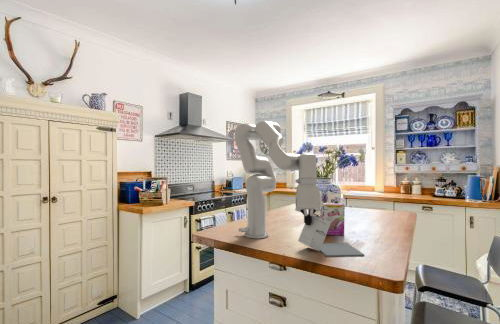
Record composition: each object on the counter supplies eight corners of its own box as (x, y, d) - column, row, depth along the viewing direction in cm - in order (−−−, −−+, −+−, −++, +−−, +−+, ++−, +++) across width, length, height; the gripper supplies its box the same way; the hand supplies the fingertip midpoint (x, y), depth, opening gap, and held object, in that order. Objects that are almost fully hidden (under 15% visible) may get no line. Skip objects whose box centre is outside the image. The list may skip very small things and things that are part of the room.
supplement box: (308, 246, 107) (319, 218, 109) (297, 241, 113) (308, 214, 116) (320, 252, 110) (330, 224, 112) (308, 246, 116) (318, 220, 119)
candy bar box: (323, 235, 136) (323, 204, 136) (321, 233, 141) (321, 202, 141) (344, 236, 135) (344, 204, 135) (342, 233, 140) (342, 203, 140)
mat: (325, 256, 104) (325, 255, 104) (313, 244, 120) (313, 243, 120) (364, 255, 105) (364, 254, 105) (346, 244, 121) (346, 242, 121)
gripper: (292, 182, 107) (292, 227, 107) (327, 182, 108) (328, 226, 108) (288, 181, 115) (289, 223, 115) (321, 181, 116) (322, 222, 115)
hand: (307, 224), depth 111 cm, fingers closed
